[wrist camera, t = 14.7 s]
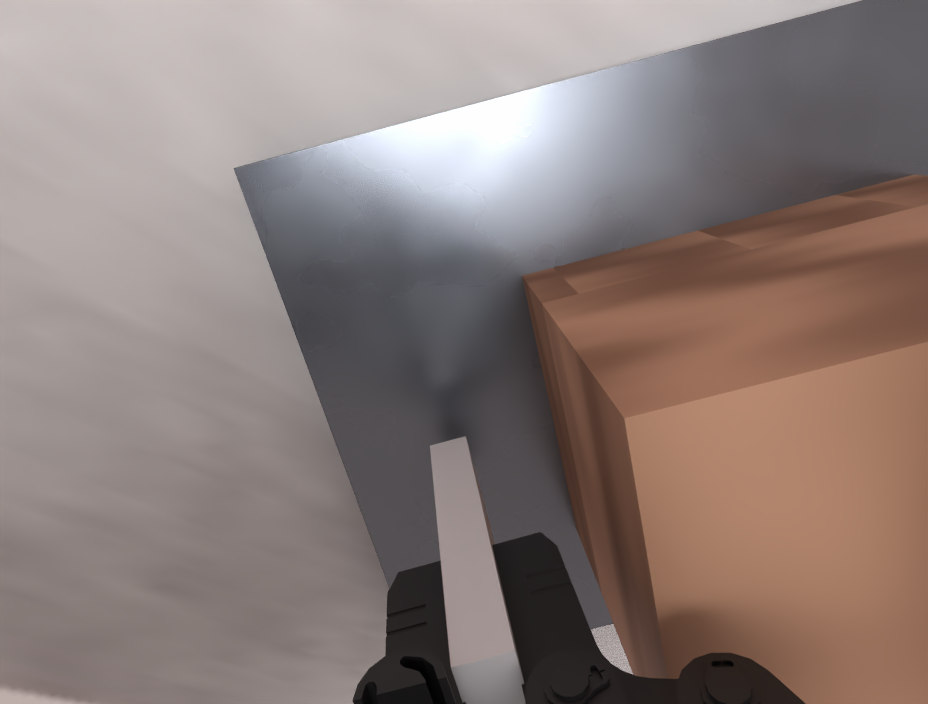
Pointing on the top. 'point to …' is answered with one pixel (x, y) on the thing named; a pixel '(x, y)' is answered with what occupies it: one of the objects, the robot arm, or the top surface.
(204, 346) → the top surface
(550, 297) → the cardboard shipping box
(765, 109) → the boss plate
